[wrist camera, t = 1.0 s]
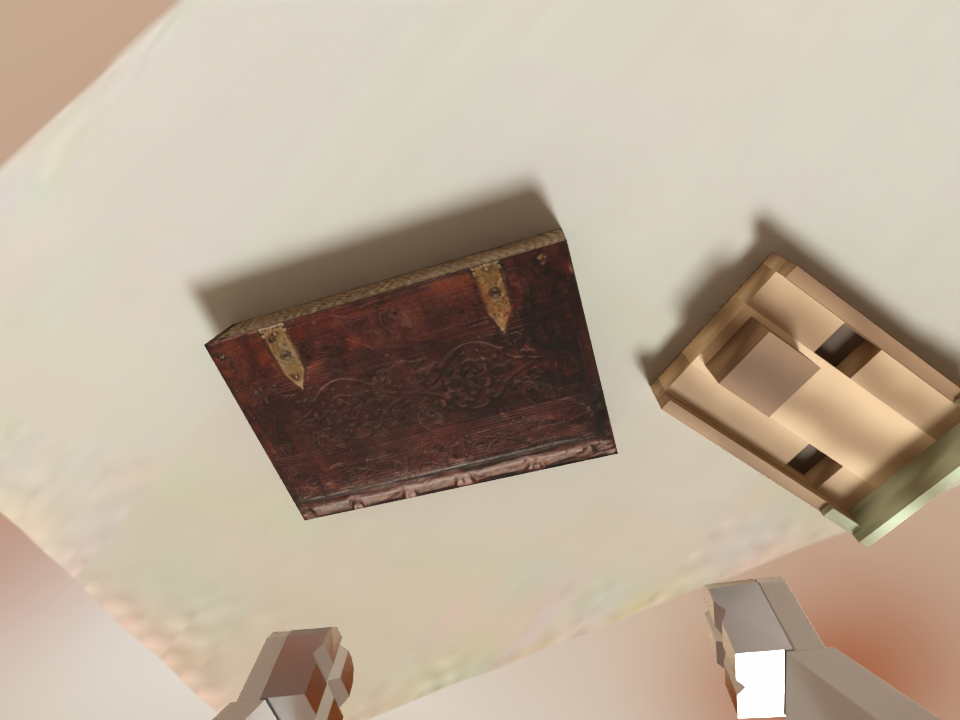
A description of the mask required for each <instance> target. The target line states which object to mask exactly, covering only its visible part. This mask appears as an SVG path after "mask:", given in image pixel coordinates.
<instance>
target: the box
mask: <svg viewBox="0 0 960 720" xmlns="http://www.w3.org/2000/svg"><path fill="white" fill-rule="evenodd" d="M750 317H753V318H754V319H756V320H757V321H758V322H760V323H761V324H763V325H764V326H765V327H767V328H768V329H770V330H771V331H772V332H774V333H775V334H777V335H778V336H779V337H781V338H782V339H784V340H785V341H786V342H788V343H789V344H791V345H792V346H793V347H795V348H796V349H798V350H799V351H800V352H802V353H803V354H804V355H805V356H806V357H808V358H809V359H810V360H811V361H813V362H814V363H815V364H816V365H818V366H819V367H820V368H821V369H820V370H819V371H818V372H816V373H815V374H814V375H813V376H812V377H811V378H810V379H809V380H808V381H807V382H806V383H805V384H804V385H803V386H802V387H801V388H800V389H798V390H797V391H796V392H795V393H794V394H793V395H792V396H791V397H790V398H789V399H788V400H787V401H786V402H785V403H784V404H783V405H782V406H780V407H779V408H778V409H777V410H776V411H775V412H774V413H773V414H772V415H771V416H770V417H767V416H766V415H764V414H763V413H762V412H760V411H759V410H757V409H756V408H754V407H753V406H751V405H750V404H748V403H747V402H745V401H744V400H742V399H741V398H739V397H738V396H736V395H735V394H733V393H732V392H730V391H729V390H727V389H726V388H724V387H723V386H721V385H720V384H719V383H718V382H717V381H716V379H715V378H714V377H713V376H712V374H711V373H710V372H709V370H708V369H707V368H706V366H705V365H706V364H707V363H708V362H709V361H710V359H711V358H712V357H713V356H714V355H715V354H716V353H717V352H718V351H719V350H720V349H721V348H722V347H723V346H724V345H725V344H726V343H727V341H728V340H729V339H730V338H731V337H732V336H733V335H734V334H735V333H736V332H737V331H738V330H739V329H740V328H741V327H742V326H743V325H744V323H745V322H746V321H747V320H748V319H749V318H750ZM650 387H651V389H652V391H653V393H654V395H655V397H656V399H657V401H658V403H659V405H660V407H661V409H662V410H664V411H665V412H667V413H668V414H670V415H671V416H673V417H675V418H676V419H678V420H679V421H681V422H682V423H684V424H685V425H687V426H689V427H690V428H692V429H693V430H695V431H696V432H698V433H699V434H701V435H703V436H704V437H706V438H707V439H709V440H710V441H712V442H713V443H715V444H716V445H718V446H720V447H721V448H723V449H724V450H726V451H727V452H729V453H730V454H732V455H734V456H735V457H737V458H738V459H740V460H741V461H743V462H744V463H746V464H748V465H749V466H751V467H752V468H754V469H755V470H757V471H758V472H760V473H761V474H763V475H765V476H766V477H768V478H769V479H771V480H772V481H774V482H775V483H777V484H779V485H780V486H782V487H783V488H785V489H786V490H788V491H789V492H791V493H793V494H794V495H796V496H797V497H799V498H800V499H802V500H803V501H805V502H806V503H808V504H810V505H811V506H813V507H814V508H816V509H817V510H819V511H820V512H821V513H822V514H823V516H825V517H826V518H828V519H829V520H831V521H832V522H834V523H835V524H837V525H839V526H840V527H842V528H843V529H845V530H846V531H848V532H850V533H851V534H853V535H854V537H855V538H856V539H857V540H858V542H859V543H861V544H862V545H864V546H866V547H869V546H871V545H872V544H873V543H874V542H876V541H877V540H879V539H880V538H881V537H883V536H884V535H885V534H886V533H888V532H889V531H891V530H892V529H893V528H895V527H896V526H897V525H898V524H900V523H901V522H903V521H904V520H905V519H907V518H908V517H909V516H911V515H912V514H913V513H915V512H916V511H917V510H919V509H920V508H921V507H923V506H924V505H925V504H927V503H928V502H929V501H931V500H932V499H933V498H935V497H936V496H937V495H939V494H940V493H941V492H943V491H944V490H945V489H947V488H948V487H949V486H951V485H952V484H953V483H955V482H956V481H957V480H959V479H960V388H959V387H958V386H956V385H955V384H954V383H952V382H951V381H950V380H948V379H947V378H946V377H944V376H943V375H942V374H940V373H939V372H938V371H936V370H935V369H934V368H932V367H931V366H930V365H928V364H927V363H926V362H924V361H923V360H922V359H920V358H919V357H918V356H916V355H915V354H914V353H912V352H911V351H910V350H908V349H907V348H906V347H904V346H903V345H902V344H900V343H899V342H898V341H896V340H895V339H894V338H892V337H891V336H890V335H888V334H887V333H886V332H884V331H883V330H882V329H880V328H879V327H878V326H876V325H875V324H874V323H872V322H871V321H870V320H869V319H867V318H866V317H865V316H863V315H862V314H861V313H859V312H858V311H857V310H855V309H854V308H853V307H851V306H850V305H849V304H847V303H846V302H845V301H843V300H842V299H841V298H839V297H838V296H837V295H835V294H834V293H833V292H831V291H830V290H829V289H827V288H826V287H825V286H823V285H822V284H821V283H819V282H818V281H817V280H815V279H814V278H813V277H811V276H810V275H809V274H807V273H806V272H805V271H803V270H802V269H801V268H799V267H798V266H797V265H795V264H793V263H791V262H789V261H787V260H785V259H783V258H781V257H779V256H777V255H776V254H774V253H771V255H770V256H769V257H768V258H767V259H766V260H765V261H764V262H763V263H762V264H761V266H760V267H759V268H758V269H757V270H756V271H755V272H754V273H753V274H752V275H751V276H750V278H749V279H748V280H747V281H746V282H745V283H744V284H743V285H742V286H741V287H740V289H739V290H738V291H737V292H736V293H735V294H734V295H733V296H732V297H731V298H730V300H729V301H728V302H727V303H726V304H725V305H724V306H723V307H722V308H721V309H720V311H719V312H718V313H717V314H716V315H715V316H714V317H713V318H712V319H711V320H710V322H709V323H708V324H707V325H706V326H705V327H704V328H703V329H702V330H701V331H700V333H699V334H698V335H697V336H696V337H695V338H694V339H693V340H692V341H691V342H690V343H689V345H688V346H687V347H686V348H685V349H684V350H683V351H682V352H681V353H680V354H679V356H678V357H677V358H676V359H675V360H674V361H673V362H672V363H671V364H670V365H669V367H668V368H667V369H666V370H665V371H664V372H663V373H662V374H661V375H660V376H659V378H658V379H657V380H656V381H655V382H654V383H653V384H652V385H651V386H650Z"/></svg>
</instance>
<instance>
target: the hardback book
mask: <svg viewBox="0 0 960 720" xmlns="http://www.w3.org/2000/svg"><path fill="white" fill-rule="evenodd" d="M205 347H206V349H207V351H208V352H209V354H210V356H211V358H212V359H213V361H214V363H215V365H216V366H217V368H218V370H219V372H220V373H221V375H222V377H223V379H224V380H225V382H226V384H227V386H228V387H229V389H230V391H231V393H232V394H233V396H234V398H235V400H236V401H237V403H238V405H239V406H240V408H241V410H242V412H243V413H244V415H245V417H246V419H247V420H248V422H249V424H250V426H251V427H252V429H253V431H254V433H255V434H256V436H257V438H258V440H259V441H260V443H261V445H262V447H263V448H264V450H265V452H266V454H267V455H268V457H269V459H270V461H271V462H272V464H273V466H274V468H275V469H276V471H277V473H278V475H279V476H280V478H281V480H282V481H283V483H284V485H285V487H286V488H287V490H288V492H289V494H290V495H291V497H292V499H293V501H294V502H295V504H296V506H297V508H298V509H299V511H300V513H301V515H302V516H303V518H304V520H309V519H313V518H318V517H323V516H327V515H332V514H337V513H341V512H346V511H351V510H355V509H360V508H365V507H369V506H374V505H379V504H384V503H388V502H393V501H398V500H402V499H407V498H412V497H416V496H421V495H426V494H430V493H435V492H440V491H444V490H449V489H454V488H458V487H463V486H468V485H473V484H477V483H482V482H487V481H491V480H496V479H501V478H505V477H510V476H515V475H519V474H524V473H529V472H533V471H538V470H543V469H547V468H552V467H557V466H562V465H566V464H571V463H576V462H580V461H585V460H590V459H594V458H599V457H604V456H608V455H613V454H618V453H617V448H616V444H615V440H614V436H613V432H612V428H611V423H610V419H609V415H608V411H607V407H606V403H605V398H604V394H603V390H602V386H601V382H600V378H599V373H598V369H597V365H596V361H595V357H594V352H593V348H592V344H591V340H590V336H589V332H588V327H587V323H586V319H585V315H584V311H583V307H582V302H581V298H580V294H579V290H578V286H577V281H576V277H575V273H574V269H573V265H572V261H571V256H570V252H569V248H568V244H567V240H566V238H565V235H564V233H563V231H562V228H560V229H557V230H554V231H550V232H547V233H543V234H540V235H537V236H533V237H530V238H526V239H523V240H520V241H516V242H513V243H509V244H506V245H503V246H499V247H496V248H492V249H489V250H485V251H482V252H479V253H475V254H472V255H468V256H465V257H462V258H458V259H455V260H451V261H448V262H445V263H441V264H438V265H434V266H431V267H428V268H424V269H421V270H417V271H414V272H410V273H407V274H404V275H400V276H397V277H393V278H390V279H387V280H383V281H380V282H376V283H373V284H370V285H366V286H363V287H359V288H356V289H353V290H349V291H346V292H342V293H339V294H335V295H332V296H329V297H325V298H322V299H318V300H315V301H312V302H308V303H305V304H301V305H298V306H295V307H291V308H288V309H284V310H281V311H278V312H274V313H271V314H267V315H264V316H260V317H257V318H254V319H250V320H247V321H243V322H240V323H237V324H233V325H231V326H230V327H228V328H227V329H226V330H224V331H223V332H221V333H220V334H219V335H217V336H216V337H215V338H213V339H212V340H210V341H209V342H208V343H206V344H205Z"/></svg>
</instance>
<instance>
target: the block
mask: <svg viewBox="0 0 960 720" xmlns="http://www.w3.org/2000/svg"><path fill="white" fill-rule="evenodd" d="M705 366H706V368H707V369H708V370H709V372H710V373H711V374H712V376H713V377H714V378H715V379H716V381H717V382H718V383H719V384H720V385H721V386H723V387H724V388H726V389H727V390H729V391H730V392H732V393H733V394H735V395H736V396H738V397H739V398H741V399H742V400H744V401H745V402H747V403H748V404H750V405H751V406H753V407H754V408H756V409H757V410H759V411H760V412H762V413H763V414H764V415H766V416H767V417H770V416H771V415H772V414H773V413H774V412H775V411H776V410H777V409H778V408H779V407H780V406H782V405H783V404H784V403H785V402H786V401H787V400H788V399H789V398H790V397H791V396H792V395H793V394H794V393H795V392H796V391H797V390H798V389H800V388H801V387H802V386H803V385H804V384H805V383H806V382H807V381H808V380H809V379H810V378H811V377H812V376H813V375H814V374H815V373H816V372H818V371H819V370H820V369H821V368H820V367H819V366H818V365H816V364H815V363H814V362H813V361H811V360H810V359H809V358H808V357H806V356H805V355H804V354H803V353H802V352H800V351H799V350H798V349H796V348H795V347H793V346H792V345H791V344H789V343H788V342H786V341H785V340H784V339H782V338H781V337H779V336H778V335H777V334H775V333H774V332H772V331H771V330H770V329H768V328H767V327H765V326H764V325H763V324H761V323H760V322H758V321H757V320H756V319H754V318H753V317H750V318H749V319H748V320H747V321H746V322H745V323H744V325H743V326H742V327H741V328H740V329H739V330H738V331H737V332H736V333H735V334H734V335H733V336H732V337H731V338H730V339H729V340H728V341H727V343H726V344H725V345H724V346H723V347H722V348H721V349H720V350H719V351H718V352H717V353H716V354H715V355H714V356H713V357H712V358H711V359H710V361H709V362H708V363H707V364H706V365H705Z"/></svg>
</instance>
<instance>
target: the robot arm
mask: <svg viewBox="0 0 960 720" xmlns="http://www.w3.org/2000/svg"><path fill="white" fill-rule="evenodd" d="M704 599H705V602H706V604H707V607H708V611H707V612H706V613H705V616H706V626H707V630H708V635H709V640H710V643H711V646H712V649H713V652H714V655H715V658H716V661H717V663H718V664H719V665H721V666H722V667H723V668H724V671H725V685H726V687H727V690H728V692H729V695H730V698H731V700H732V703H733V705H734V708H735V711H736V713H737V716H738V718H756V717H777V716H785V718H786V720H941V719H940V718H938V717H937V716H935V715H934V714H932V713H931V712H929V711H928V710H926V709H925V708H923V707H922V706H920V705H919V704H917V703H916V702H915V701H913V700H912V699H910V698H909V697H907V696H906V695H904V694H903V693H901V692H900V691H898V690H897V689H895V688H894V687H892V686H891V685H889V684H888V683H886V682H885V681H884V680H882V679H881V678H879V677H878V676H876V675H875V674H873V673H872V672H870V671H869V670H867V669H866V668H864V667H863V666H861V665H860V664H858V663H857V662H855V661H854V660H852V659H851V658H849V657H848V656H846V655H845V654H844V653H842V652H841V651H839V650H838V649H836V648H835V647H827V648H826V647H825V646H824V644H823V642H822V641H821V639H820V637H819V636H818V634H817V632H816V631H815V629H814V627H813V626H812V624H811V622H810V621H809V619H808V617H807V616H806V614H805V612H804V611H803V609H802V607H801V606H800V604H799V602H798V601H797V599H796V597H795V595H794V594H793V592H792V590H791V589H790V587H789V586H788V584H787V582H786V581H785V580H784V579H783V578H782V577H781V576H777V577H769V578H759V579H754V580H753V579H748V580H740V581H732V582H724V583H716V584H708V585H704ZM341 639H342V636H341V634H340V632H339V630H338V628H337V627H327V628H315V629H303V630H293V631H282V632H273V633H272V634H271V635H270V636H269V637H268V638H267V639H266V641H265V644H264V646H263V648H262V650H261V652H260V654H259V656H258V658H257V660H256V662H255V664H254V666H253V668H252V671H251V673H250V675H249V677H248V679H247V681H246V683H245V685H244V687H243V689H242V691H241V693H240V695H239V698H238V700H237V702H231V703H229V704H228V705H227V706H226V707H225V708H224V709H223V710H222V711H221V712H220V713H219V714H218V715H217V716H216V717H215V718H214V719H213V720H343V714H342V712H341V709H340V706H341V705H342V704H343V703H344V702H345V701H346V700H347V698H348V697H349V696H350V692H351V688H352V684H353V672H354V667H353V662H352V657H351V655H350V653H349V651H348V650H347V649H345V648H344V647H342V646H341V645H340V642H341Z"/></svg>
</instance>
